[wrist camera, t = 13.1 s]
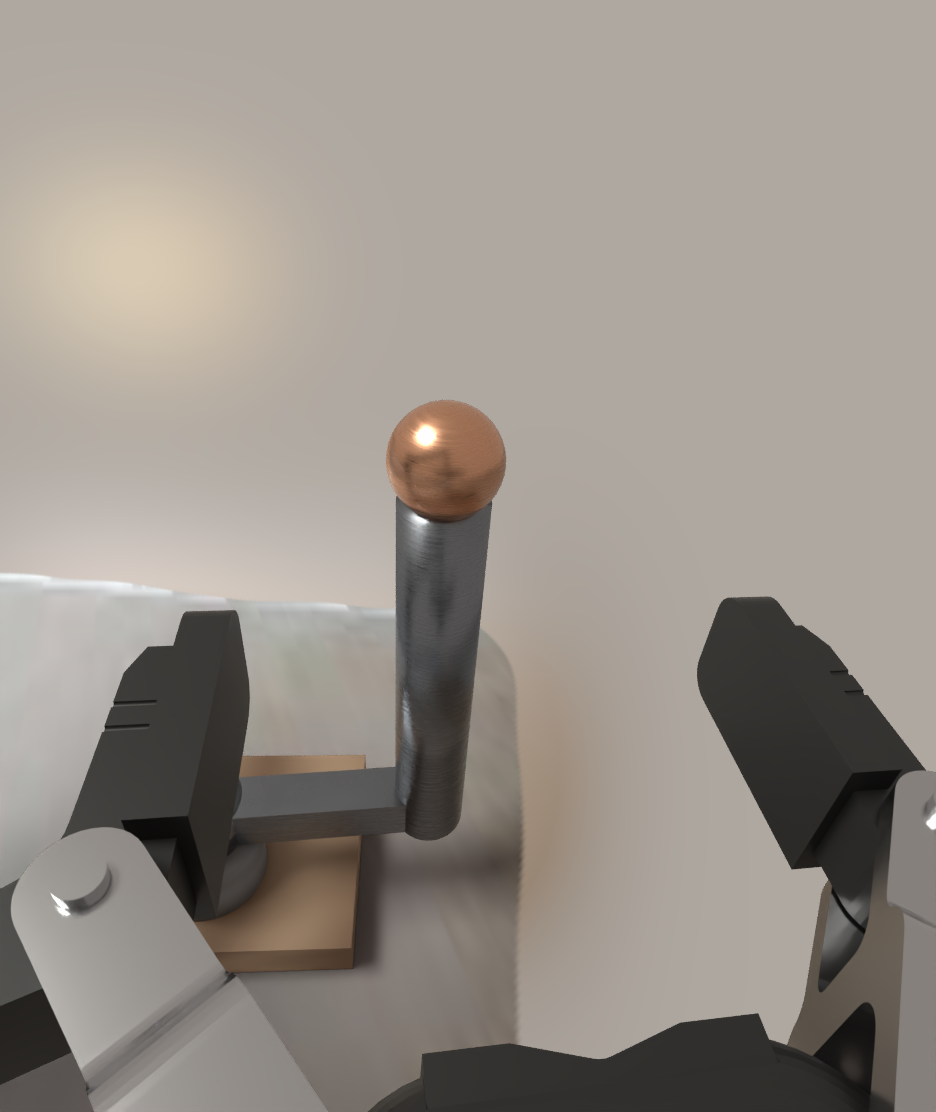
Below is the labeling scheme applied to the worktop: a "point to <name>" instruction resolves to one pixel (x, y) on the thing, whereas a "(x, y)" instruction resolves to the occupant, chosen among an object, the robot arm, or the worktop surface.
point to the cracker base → (288, 891)
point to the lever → (410, 647)
